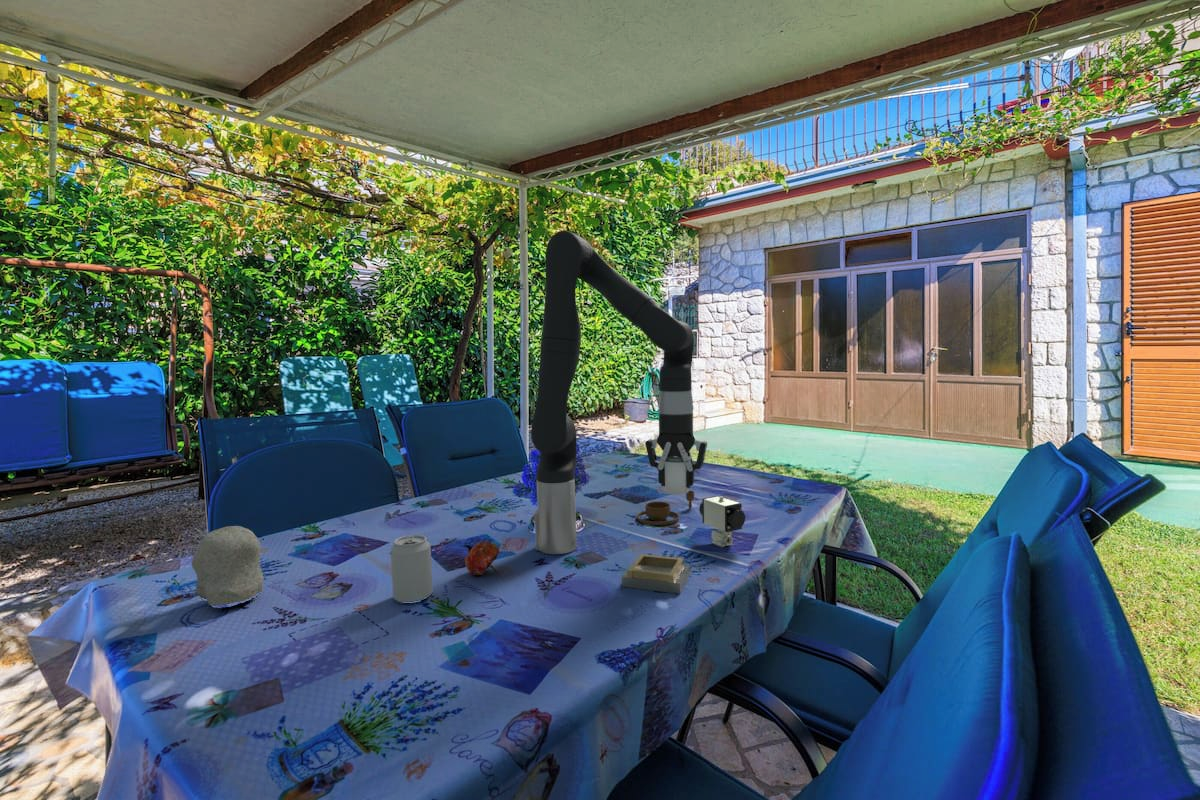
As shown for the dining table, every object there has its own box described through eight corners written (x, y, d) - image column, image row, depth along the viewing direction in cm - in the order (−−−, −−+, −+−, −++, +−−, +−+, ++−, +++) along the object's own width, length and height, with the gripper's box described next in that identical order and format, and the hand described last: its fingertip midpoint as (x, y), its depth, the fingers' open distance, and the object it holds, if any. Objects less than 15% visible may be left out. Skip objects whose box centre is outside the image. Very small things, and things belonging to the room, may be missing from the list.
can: (391, 608, 108) (388, 547, 107) (394, 592, 115) (391, 535, 114) (432, 603, 110) (429, 542, 109) (433, 587, 117) (430, 531, 116)
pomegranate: (502, 577, 127) (470, 547, 129) (517, 555, 125) (484, 525, 126) (483, 593, 121) (450, 562, 123) (498, 571, 118) (464, 539, 120)
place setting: (629, 514, 168) (628, 495, 167) (692, 508, 172) (691, 489, 172) (647, 532, 151) (646, 511, 150) (716, 525, 155) (716, 504, 155)
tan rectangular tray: (621, 586, 115) (621, 569, 115) (635, 568, 124) (635, 553, 124) (680, 593, 111) (679, 576, 110) (690, 574, 120) (689, 558, 120)
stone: (272, 598, 114) (267, 525, 112) (213, 621, 104) (206, 541, 103) (242, 587, 119) (236, 518, 118) (183, 608, 110) (177, 533, 109)
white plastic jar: (662, 493, 125) (661, 458, 125) (667, 488, 130) (667, 454, 130) (685, 495, 124) (685, 460, 123) (690, 489, 128) (689, 455, 128)
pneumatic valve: (731, 553, 132) (730, 503, 131) (698, 539, 142) (698, 493, 141) (748, 549, 135) (748, 499, 134) (715, 536, 145) (715, 489, 144)
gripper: (639, 412, 124) (641, 488, 126) (705, 413, 119) (705, 492, 121) (648, 409, 131) (649, 480, 133) (710, 409, 126) (711, 484, 128)
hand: (676, 486), depth 127 cm, fingers closed on white plastic jar, 5 cm apart
